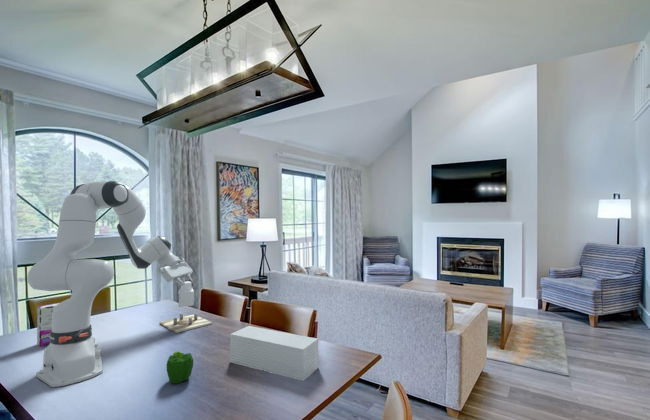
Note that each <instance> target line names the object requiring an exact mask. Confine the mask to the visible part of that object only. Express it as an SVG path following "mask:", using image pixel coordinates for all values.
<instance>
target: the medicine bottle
mask: <svg viewBox="0 0 650 420" xmlns="http://www.w3.org/2000/svg"><path fill="white" fill-rule="evenodd" d="M183 281H184V283H185V284H184V285H183V286H181V285H180V284H179V289H178V307H179V308H181V307H190V306H194V305H195V291H194V289H193V281H188V280H183Z"/></svg>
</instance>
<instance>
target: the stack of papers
mask: <svg viewBox="0 0 650 420" xmlns="http://www.w3.org/2000/svg"><path fill="white" fill-rule="evenodd" d="M229 337H230V338H229V339H230V340H229V341H230V342H229V354H230V355H229V363H232V364H235V365H238V366H239V365H240V366H244V367H247V368H250V369H251V368H252V369H255V370H258V369H259V370H260V371H262V370H264V371H263V372H266V371H267V372H268V373H270V372H271V373H270V374H274V375H278V374H279V375H278V376H282V375H283V376H282V377H286V376H287V378H289V377H290V378H289V379H294V380H297V381H302V382H304V381H305V380H306V379H307V378H308V377H310V376H311V375H312V374H314V372H315V371H317V370H318V368H319V338H317V337H310V336H305V335H299V334H294V333H290V332H283V331H279V330H274V329H268V328H263V327H257V326H251V325H248V326H246V327H244V328H241V329H238V330H236V331H234V332H231V333H230V335H229ZM259 370H258V371H259ZM267 372H266V373H267Z"/></svg>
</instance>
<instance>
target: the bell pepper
mask: <svg viewBox="0 0 650 420" xmlns="http://www.w3.org/2000/svg"><path fill="white" fill-rule="evenodd" d="M193 367H194V358H193V354H192V353H190V352H189V353H186V354H185V353H184V352H180V351H174V352H173V353H172V355H169V357H168V358H167V361H166V373H167V376H168V377H167V378H168V380H169V382H170V383H171V384H173V385H174V384H175V385H176V384H180V383H182V382H183V381H187V380H189V378H190V377H191V374H192V372H193Z"/></svg>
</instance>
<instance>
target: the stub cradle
mask: <svg viewBox="0 0 650 420" xmlns="http://www.w3.org/2000/svg"><path fill="white" fill-rule="evenodd" d="M159 324H160V325H161V326H163V327H165V328H166V329H167V330H169V331H172V332H173V333H175V334H179V333H183V332H187V331H190V330H194V329H198V328H201V327H206V326H210V325H212V324H213V323H212V321H210V320H207V319H205V318H203V317H201V316H199V315H198V313H194V314H190V315H185V316H184V313H179V317H174V318H171V319H166V320H161V321H159Z"/></svg>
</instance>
